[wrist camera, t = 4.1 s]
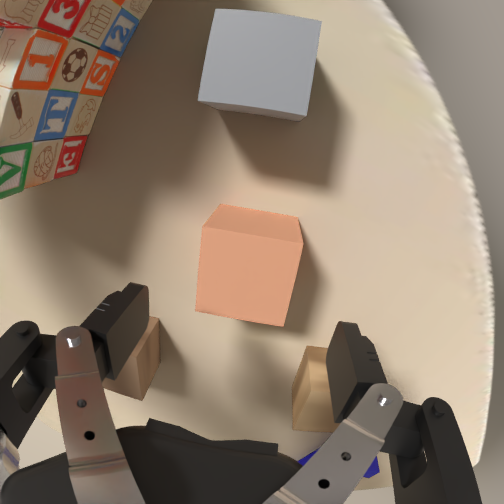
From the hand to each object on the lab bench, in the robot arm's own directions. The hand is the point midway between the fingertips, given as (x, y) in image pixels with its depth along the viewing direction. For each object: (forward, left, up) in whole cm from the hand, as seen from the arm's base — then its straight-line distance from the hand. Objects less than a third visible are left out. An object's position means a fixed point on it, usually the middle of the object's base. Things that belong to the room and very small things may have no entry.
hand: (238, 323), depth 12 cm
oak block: (+8, -10, -9) cm, 15 cm away
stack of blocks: (-14, +14, -9) cm, 22 cm away
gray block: (-1, +11, -9) cm, 14 cm away
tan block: (-9, -10, -9) cm, 16 cm away
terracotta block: (0, 0, -9) cm, 9 cm away
